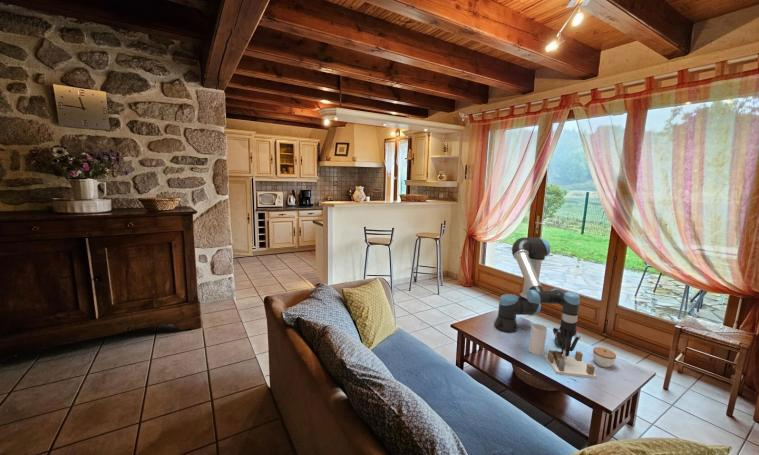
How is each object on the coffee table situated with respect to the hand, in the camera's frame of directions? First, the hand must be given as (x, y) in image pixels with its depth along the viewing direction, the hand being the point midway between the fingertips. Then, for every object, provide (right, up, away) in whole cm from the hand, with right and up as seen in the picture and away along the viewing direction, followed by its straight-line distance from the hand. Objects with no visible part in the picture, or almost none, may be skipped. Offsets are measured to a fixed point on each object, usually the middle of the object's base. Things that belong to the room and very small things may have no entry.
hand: (564, 360), depth 180 cm
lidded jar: (+24, -4, +4) cm, 25 cm away
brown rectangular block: (-3, -1, 0) cm, 4 cm away
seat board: (+2, -3, -1) cm, 4 cm away
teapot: (+10, 0, +23) cm, 26 cm away
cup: (-9, -1, +15) cm, 17 cm away
